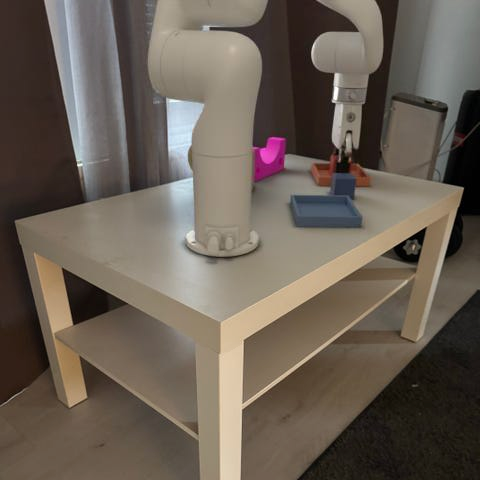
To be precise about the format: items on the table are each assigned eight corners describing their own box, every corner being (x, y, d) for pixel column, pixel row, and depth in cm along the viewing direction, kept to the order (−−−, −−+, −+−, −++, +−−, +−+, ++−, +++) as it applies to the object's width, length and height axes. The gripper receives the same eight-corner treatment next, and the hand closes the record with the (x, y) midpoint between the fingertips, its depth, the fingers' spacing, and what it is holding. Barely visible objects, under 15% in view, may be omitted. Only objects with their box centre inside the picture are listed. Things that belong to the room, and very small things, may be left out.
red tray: (369, 186, 115) (370, 177, 113) (318, 185, 114) (319, 177, 113) (357, 171, 126) (358, 163, 125) (310, 170, 126) (311, 162, 124)
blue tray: (360, 227, 91) (362, 217, 90) (296, 226, 91) (297, 216, 90) (347, 204, 103) (348, 195, 102) (290, 203, 102) (290, 194, 101)
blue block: (353, 199, 106) (356, 178, 103) (333, 199, 106) (335, 178, 103) (349, 193, 110) (352, 173, 107) (329, 192, 110) (332, 172, 107)
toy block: (263, 165, 130) (264, 135, 126) (284, 168, 127) (285, 138, 123) (232, 177, 119) (232, 145, 115) (254, 181, 116) (255, 149, 112)
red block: (350, 178, 118) (352, 159, 116) (331, 178, 118) (333, 159, 116) (346, 173, 122) (348, 155, 119) (328, 173, 122) (330, 155, 119)
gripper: (374, 101, 103) (361, 186, 113) (357, 91, 117) (347, 167, 127) (339, 100, 103) (329, 185, 113) (326, 90, 117) (319, 166, 127)
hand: (339, 174), depth 120 cm, fingers open, 4 cm apart
